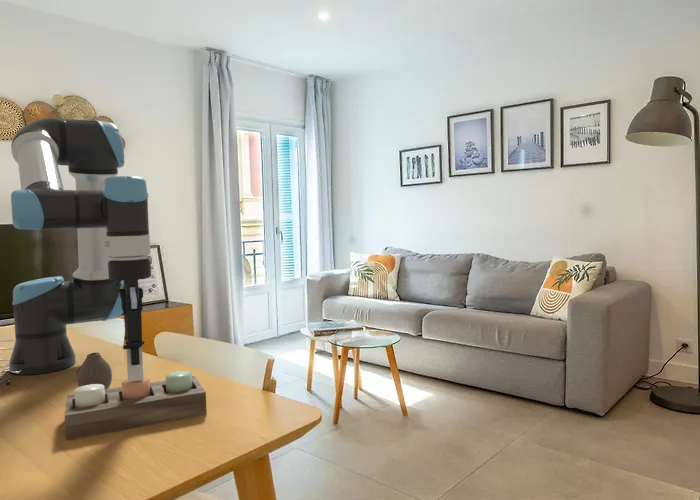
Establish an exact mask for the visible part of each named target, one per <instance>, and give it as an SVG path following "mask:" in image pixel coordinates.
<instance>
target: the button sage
mask: <svg viewBox="0 0 700 500" xmlns="http://www.w3.org/2000/svg"><path fill="white" fill-rule="evenodd" d="M192 376H193V373H192V372H191V371H187V370H185V371H184V370H181V371H173V372H170V373H167V374H166V375H165V380H166V393H172V392H178V391H185V390H191V389H192Z"/></svg>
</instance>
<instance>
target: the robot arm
mask: <svg viewBox="0 0 700 500" xmlns="http://www.w3.org/2000/svg"><path fill="white" fill-rule="evenodd" d="M11 155H12V157H13V159H14V162H15V163H17V164H18V172H19V173H18V174H19V181H20V183H19V184H20V189H16V190H12V192H11V194H10V202H11V218H12V225H13V227H14V228H15V229H18V230H31V231H32V230H33V231H40V230H61V229H62V230H63V229H64V230H65V229H76V230H77V252H78V254H77V255H78V256H77V257H78V268H77V269H76V270H75V271H74V272H73V273H72V280H67V281H65V278H64V277H63V276H61V275H60V276H59V275H56V276H49V277H42V278H38V279H31V280H28V281H24V282H21V283H19V284H16V285H15V286H14V288H13V290H12V304H11V305H13V317H14V321H13V322H14V334H15V342H14V344H13V345H14V346H13V349H12V352H11V354H10V355H11V356H10V359H9V362H8V369H9V370H10V371H20V370H21V372H20V373H19V375H21V376H23V375H24V376H25V375H27V376H28V375H38V374H39V375H40V374H46V373H52V372H57V371H60V370H64V369H68V368H69V367H72V366H73V365H75V364H76V353H75V351H74V349H73V346H72V343H71V342H70V340H69V337H68V333H67V325H72V324H73V325H74V324H83V323H90V322H101V321H103V322H105V321H107V320H115V319H118V318H120V317H121V316H122V315H123V319H124V320H123V322H124V333H125V336H124V340H125V345H122V350H126V351H125V352H126V369H127V373H126V374H127V379H128V382H134V381H141V380H144V379H143V377H144V364H143V363H144V362H143V345H145V341H144V340H143V328H142V327H143V325H142V323H143V321H142V318H143V317H142V311H143V297H144V289H143V288H142V287H140V286H139V280H145V279H146V280H147V279H150V278H151V277H152V263H151V262H152V261H151V259H150V258H148V256H151V252H152V251H151V237H150V236H151V235H150V228H149V225H150V224H149V203H148V202H149V201H148V200H149V199H148V198H149V193H148V188H147V181H146V180H145V178H144V177H140V176H135V175H134V176H133V175H132V176H131V175H119V174H118V172H119V171H118V168H119V169H120V168H122V167H124V165H125V151H124V144H123V140H122V136H121V133H120V130H119V128H118V127H117V125H115V124H114V123H112V122H108V121H101V120H98V119H97V120H91V119H74V118H73V119H72V118H71V119H70V118H58V117H45V118H39V119H36V120H34V121H31V122H29V123H28V124H26V125H24V126H23V127H21V128H20V129H19V130H18V131H17V132H16V133H15V134H14V137H13V138H12V141H11ZM59 166H67V167H68V174H69V175H70V176H72V178H74V180H75V190H74V189H73V190H72V189H71V190H70V189H68V190H67V189H64V184H63V181H62V177H61V172H60V169H59V168H60V167H59ZM10 371H9V372H10Z"/></svg>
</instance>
